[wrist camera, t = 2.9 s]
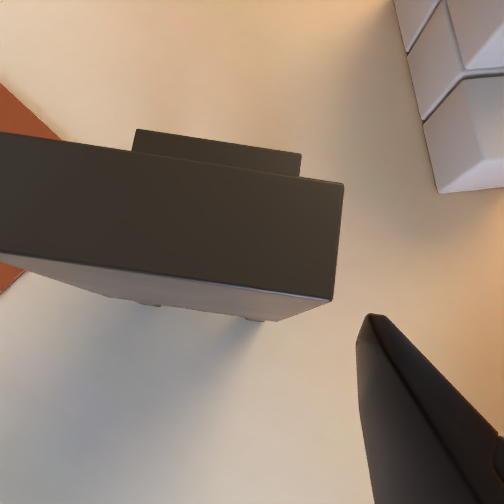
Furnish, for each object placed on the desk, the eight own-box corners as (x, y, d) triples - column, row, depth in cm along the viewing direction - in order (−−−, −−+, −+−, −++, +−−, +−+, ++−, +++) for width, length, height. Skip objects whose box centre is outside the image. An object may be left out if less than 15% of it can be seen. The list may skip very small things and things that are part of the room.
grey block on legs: (267, 326, 19) (333, 302, 6) (137, 306, 18) (-54, 244, 6) (283, 203, 20) (365, -17, 8) (162, 184, 20) (44, -69, 7)
